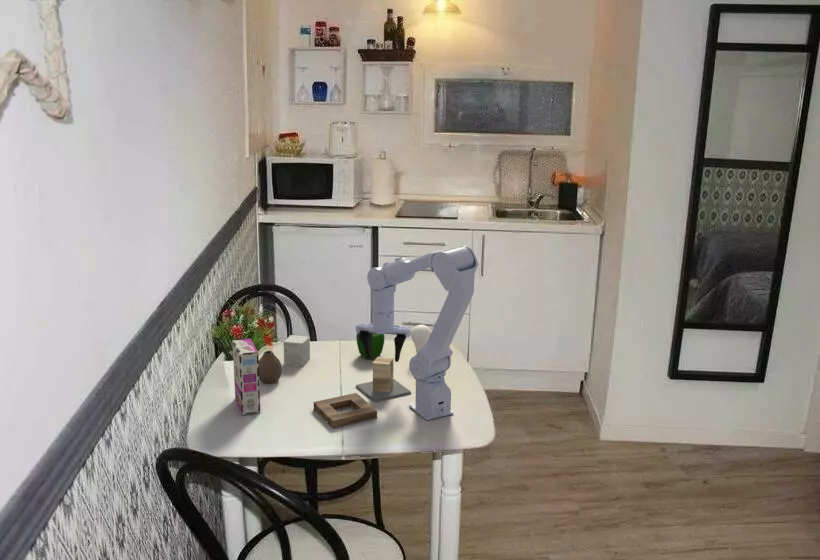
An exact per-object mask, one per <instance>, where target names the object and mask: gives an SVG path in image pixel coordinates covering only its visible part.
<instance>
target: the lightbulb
mask: <svg viewBox="0 0 820 560" xmlns="http://www.w3.org/2000/svg"><path fill="white" fill-rule="evenodd" d="M431 332H432V330H431V328H429V327H428V325H424V324H418V325H416V326H414V327H413V328H412V330H411V335H410V338H411V340H412V342H413V344H414V347H415V353H417V352H418V350H419V349H420V348H421V347H422V346H424V345H425V344H426V343H427V342H428V339H429V337H430V335H431Z"/></svg>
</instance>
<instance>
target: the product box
mask: <svg viewBox="0 0 820 560" xmlns="http://www.w3.org/2000/svg"><path fill="white" fill-rule="evenodd" d="M310 342H311V338H310V336H303V335H295V334H291V335H288V337H287V338H286V339H285V340H284V341H283V365H285V366H295V367H304V366H306V364H307V363H308V362H309V361H310V359H311V343H310Z"/></svg>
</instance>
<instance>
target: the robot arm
mask: <svg viewBox="0 0 820 560" xmlns="http://www.w3.org/2000/svg"><path fill="white" fill-rule="evenodd" d="M394 260H395V261H391V262H387V261H386V262H384V263H382V266H378V267H372V268H371V269H369V271H368V273H367V277H366V280H367V284H368V285H369V287H370V288H371V294H372V295H371V302H372V303H371V308H372V309H371V311H372V312H371V313H372V314H371V315H372V317H371V318H372V321H371V323H369V322H368V323H361V322H360V323H357V324H356V325H355V332H356V333H360V335H359V339H360V340H361V342H362V344H363V346H364V348H365V351H366V355H367V360H371V359H370V358H371V357H372V333H376V334H384V335H391V336H392V335H393V336H395V337H394V338H393V342H394V351H395V352H394V362H396V363H398V362H399V361H400V359H401V358H400V357H401V353H402V350H403V346H404V344H405V342H406V339H407V338H410V337H411V332H412V330H411V329H412V328H411V327H407V326H402V325H396V324H395V292H396V291H397V289H396V288H397V285H398V284H402V283H404V282H409V281H410V280H413V279H414V278H415V275H416V273H419V272H421V271H425V270H428V269H429V271H430V272H431V273H434V275H435V276H436V277H437V279H438V280H439V282H440V284H441V285H442V287H443V289H444V290H445V291H447V293H448V294H447V296H446V298H445V301H444V303H443V305H442V307H441V310H440V312H439V314H438V316H437V319H436V321H435V324H434V326H433V328H432V330H431V335H430V337H429V339H428V342H427V343H426V344H425V345H424V346H422V347H421V348H420V349H419V350H418V352H416V354H415V355H414V356H413V357H411V359H410V360H409V366H408V367H409V371H410V373H411V376H412V377H413V379H414V380H415V402H412V403H408V407H409V408H411V409H412V410H413V411H414V412H415V413H417V414H418V415H419V416H420V417H422V418H424V419H425V420H427V421H430V420H434V419H437V418H442V417H445V416H450V415H453V414H454V412H455V411H453V410H452V390H451V388H450V387H449V386H448V385H447V383H446V380H445V376H446V375H447V371H448V370H449V369H450V368H451V364H452V359H451V358H452V355H453V350H452V348H451V347H450V346H451V344H452V342H453V339H454V337H455V335H456V333H457V330H458V328H459V326H460V324H461V322H462V320H463V318H464V315H465V313H466V311H467V310H468V307H469V305H470V302H471V300H472V298H473V296H474V292H475V278H476V277H475V276H476V275H475V274H476V271H477V269H478V267H479V261H478V258H477V256H476V254H475V252H474V250H473V249H472V248H471V247H470V246H467V245H461V246H459V247H451V248H446V249H439V250H436V251H432V252H429V253H426V254H423V255H421V256H419V257H417V258H414V259H412V260H411V259H410V258H407V257H403V256H398V257H396V258H394Z"/></svg>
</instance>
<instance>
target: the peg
mask: <svg viewBox="0 0 820 560" xmlns="http://www.w3.org/2000/svg"><path fill="white" fill-rule="evenodd" d="M373 360H374V361H372V381H373V391H381V392H390V390H391V389H392V387H393V379H394V358H392V357H385V356H377V357H376V358H374V359H373Z"/></svg>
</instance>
